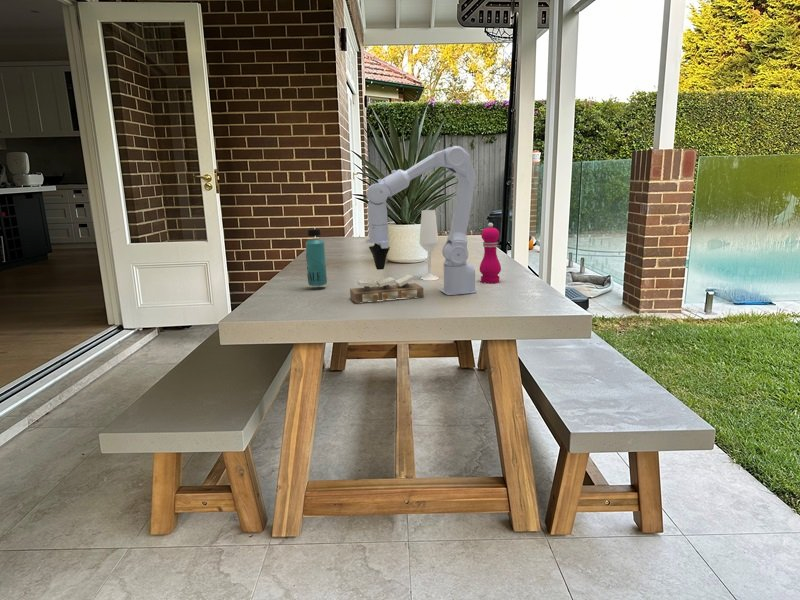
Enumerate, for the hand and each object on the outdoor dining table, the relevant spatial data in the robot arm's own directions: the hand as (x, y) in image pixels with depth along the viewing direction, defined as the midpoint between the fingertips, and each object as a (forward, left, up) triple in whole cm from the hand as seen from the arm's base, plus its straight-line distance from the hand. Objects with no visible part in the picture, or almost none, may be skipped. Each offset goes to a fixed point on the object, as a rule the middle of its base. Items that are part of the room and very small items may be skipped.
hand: (380, 269), depth 168 cm
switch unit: (-1, +3, -9) cm, 9 cm away
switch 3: (-7, +3, -4) cm, 9 cm away
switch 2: (-1, +3, -4) cm, 5 cm away
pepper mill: (-40, -7, -9) cm, 42 cm away
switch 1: (+5, +3, -4) cm, 7 cm away
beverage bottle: (+17, -20, -9) cm, 28 cm away
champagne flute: (-23, -21, -9) cm, 33 cm away
